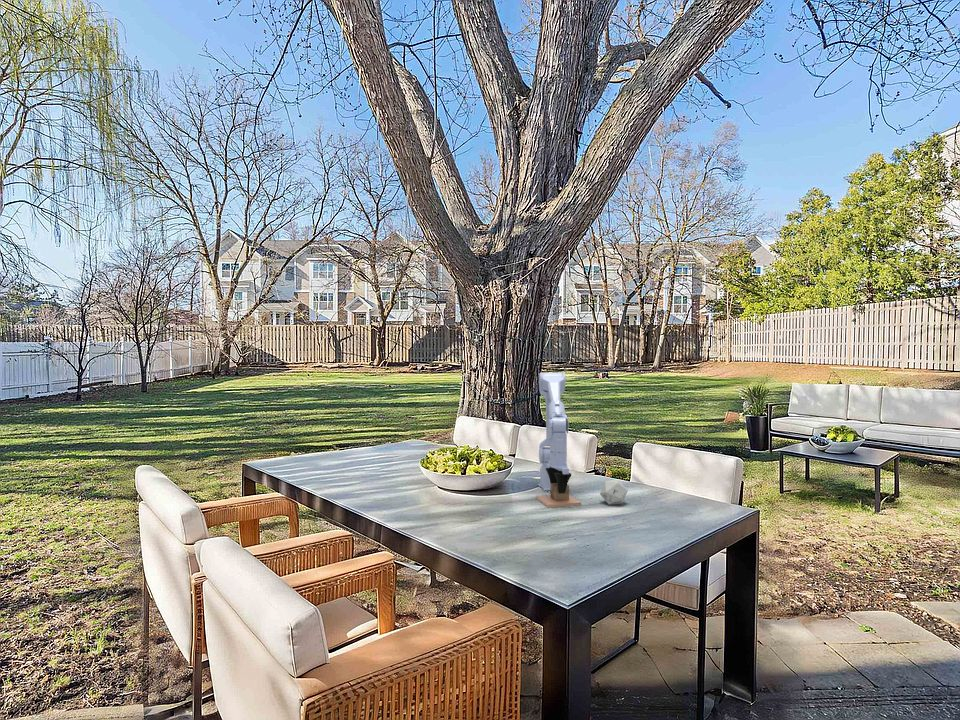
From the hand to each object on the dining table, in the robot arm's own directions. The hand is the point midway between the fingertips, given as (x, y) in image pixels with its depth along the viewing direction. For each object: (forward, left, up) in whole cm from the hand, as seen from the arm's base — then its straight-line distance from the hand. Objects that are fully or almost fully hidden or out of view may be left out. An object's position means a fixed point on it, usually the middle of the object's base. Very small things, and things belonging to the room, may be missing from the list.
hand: (558, 490), depth 201 cm
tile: (0, 0, -4) cm, 4 cm away
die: (+6, +18, -4) cm, 19 cm away
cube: (0, +1, -3) cm, 3 cm away
